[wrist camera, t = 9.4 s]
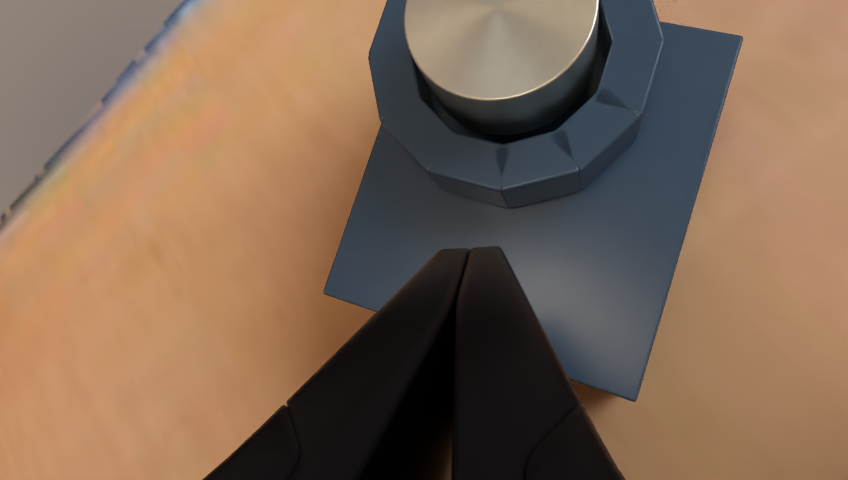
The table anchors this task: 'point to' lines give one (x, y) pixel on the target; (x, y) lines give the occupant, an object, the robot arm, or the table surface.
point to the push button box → (549, 188)
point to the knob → (504, 58)
